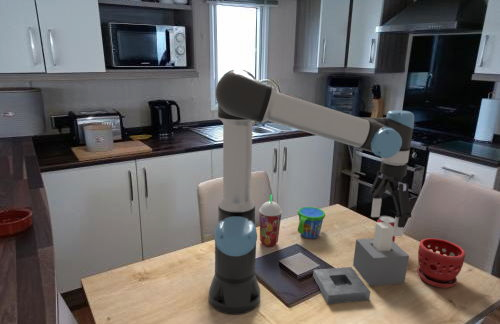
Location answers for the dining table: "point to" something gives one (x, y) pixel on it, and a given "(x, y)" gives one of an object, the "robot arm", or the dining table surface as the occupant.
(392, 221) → the soda can
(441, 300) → the dining table surface
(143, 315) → the dining table surface
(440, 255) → the plant pot
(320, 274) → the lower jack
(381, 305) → the dining table surface
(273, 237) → the smoothie
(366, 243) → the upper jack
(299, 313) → the dining table surface
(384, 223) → the plug
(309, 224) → the snack cup
